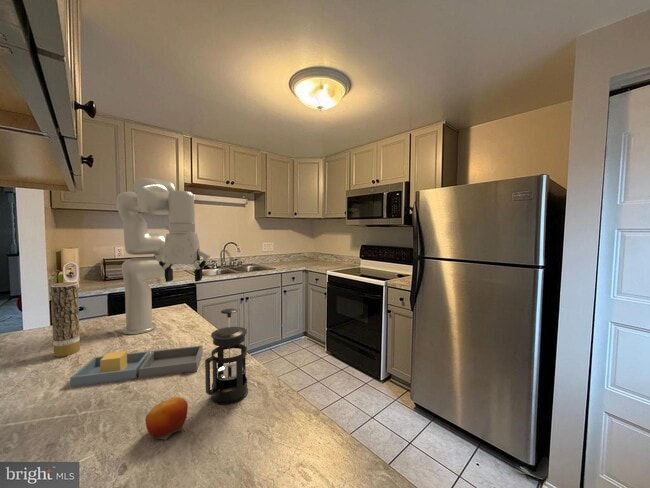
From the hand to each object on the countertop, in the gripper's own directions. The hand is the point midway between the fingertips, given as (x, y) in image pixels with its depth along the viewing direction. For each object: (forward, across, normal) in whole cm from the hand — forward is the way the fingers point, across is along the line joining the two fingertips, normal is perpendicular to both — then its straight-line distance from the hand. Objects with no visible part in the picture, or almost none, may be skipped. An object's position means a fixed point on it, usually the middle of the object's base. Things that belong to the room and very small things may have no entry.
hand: (183, 281), depth 90 cm
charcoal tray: (+27, -3, -2) cm, 27 cm away
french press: (+28, +21, -18) cm, 39 cm away
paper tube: (+27, -45, +5) cm, 53 cm away
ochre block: (+27, -18, -7) cm, 33 cm away
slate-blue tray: (+27, -18, -7) cm, 34 cm away
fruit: (+28, +13, -31) cm, 44 cm away
